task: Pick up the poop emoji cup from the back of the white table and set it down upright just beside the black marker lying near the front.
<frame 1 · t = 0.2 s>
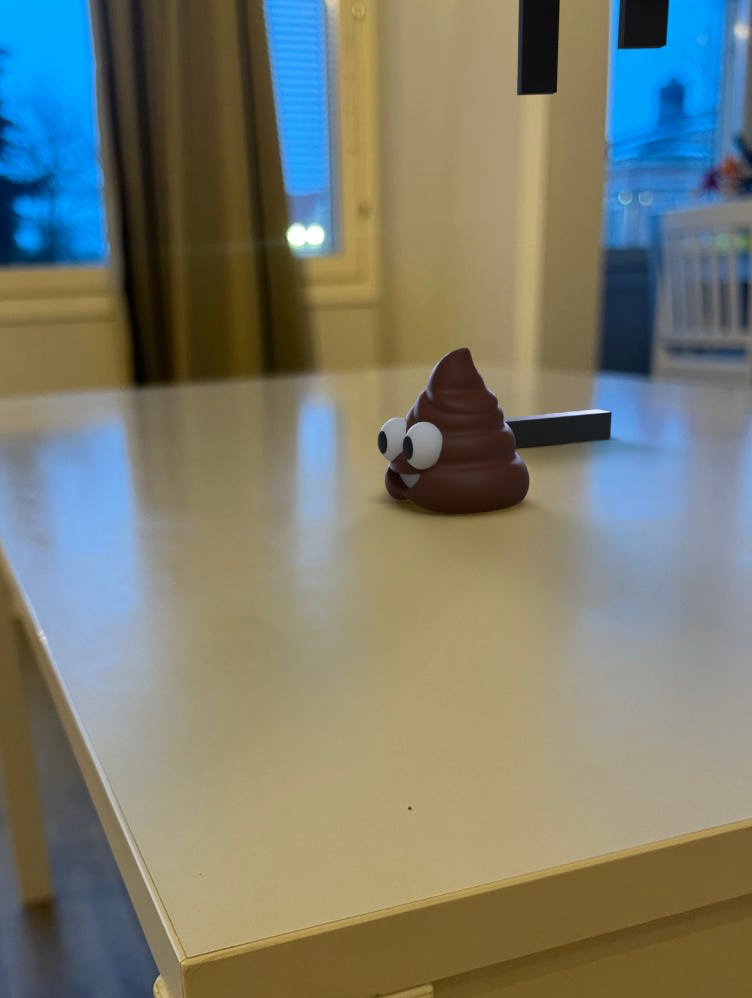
hand: (584, 73, 64), 25 cm above the table, tool pointing down, fingers open, 13 cm apart
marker: (531, 444, 82), on the table
poop emoji: (453, 504, 63), on the table
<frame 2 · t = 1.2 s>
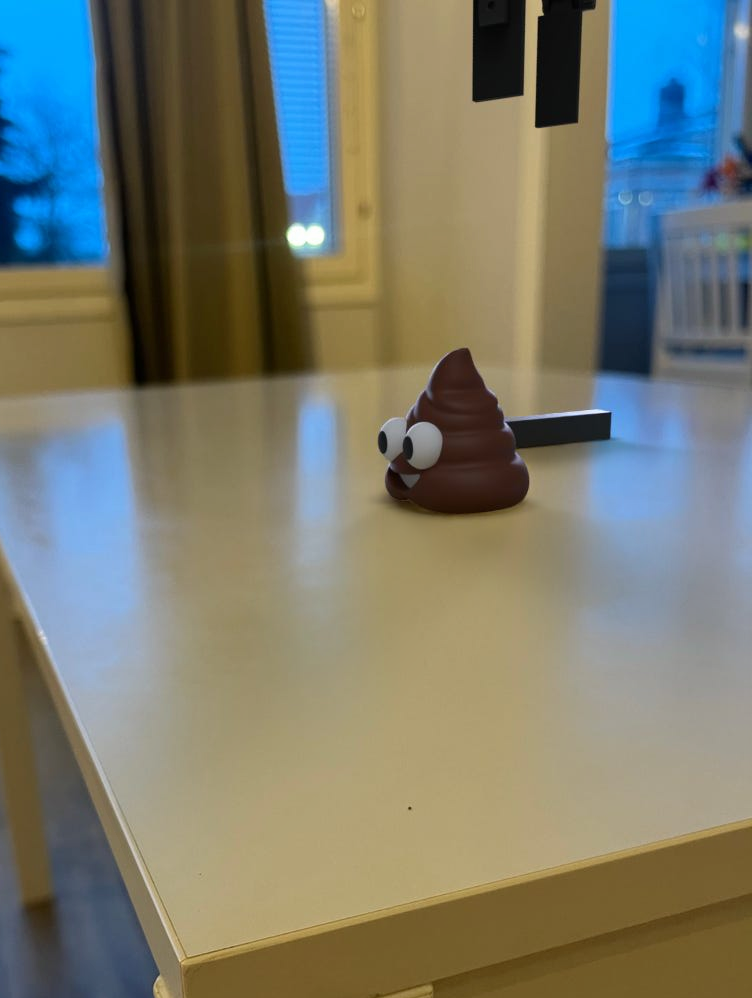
hand: (529, 113, 61), 23 cm above the table, tool pointing down, fingers open, 13 cm apart
nothing on the table moved.
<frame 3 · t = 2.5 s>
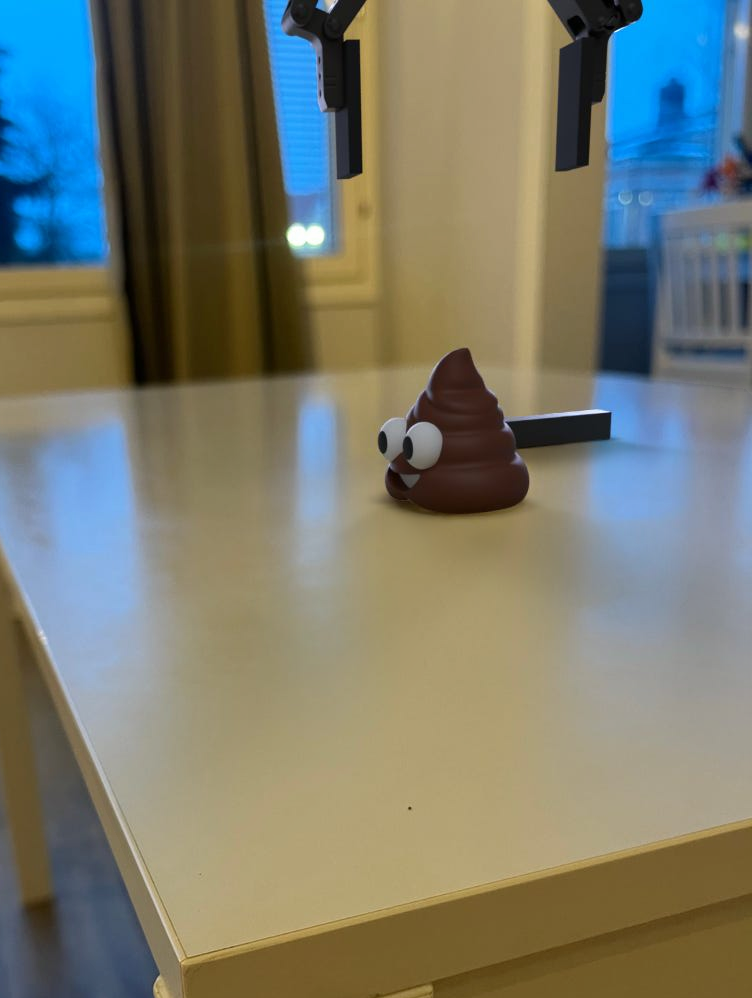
hand: (462, 173, 57), 19 cm above the table, tool pointing down, fingers open, 13 cm apart
nothing on the table moved.
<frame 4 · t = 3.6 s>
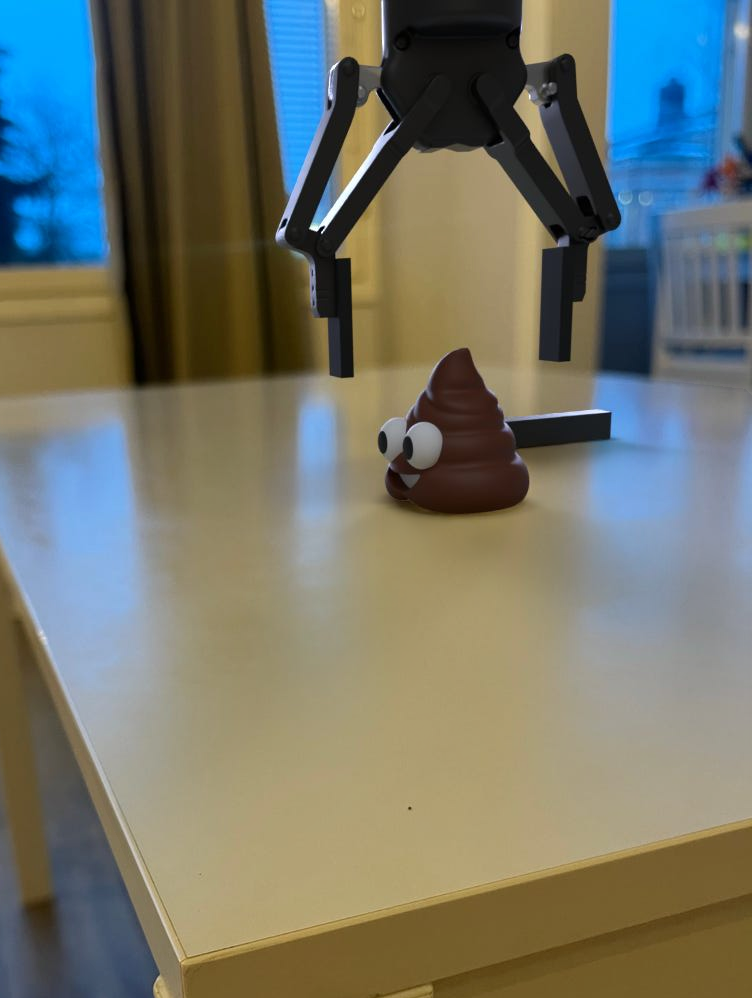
hand: (450, 369, 60), 8 cm above the table, tool pointing down, fingers open, 13 cm apart
nothing on the table moved.
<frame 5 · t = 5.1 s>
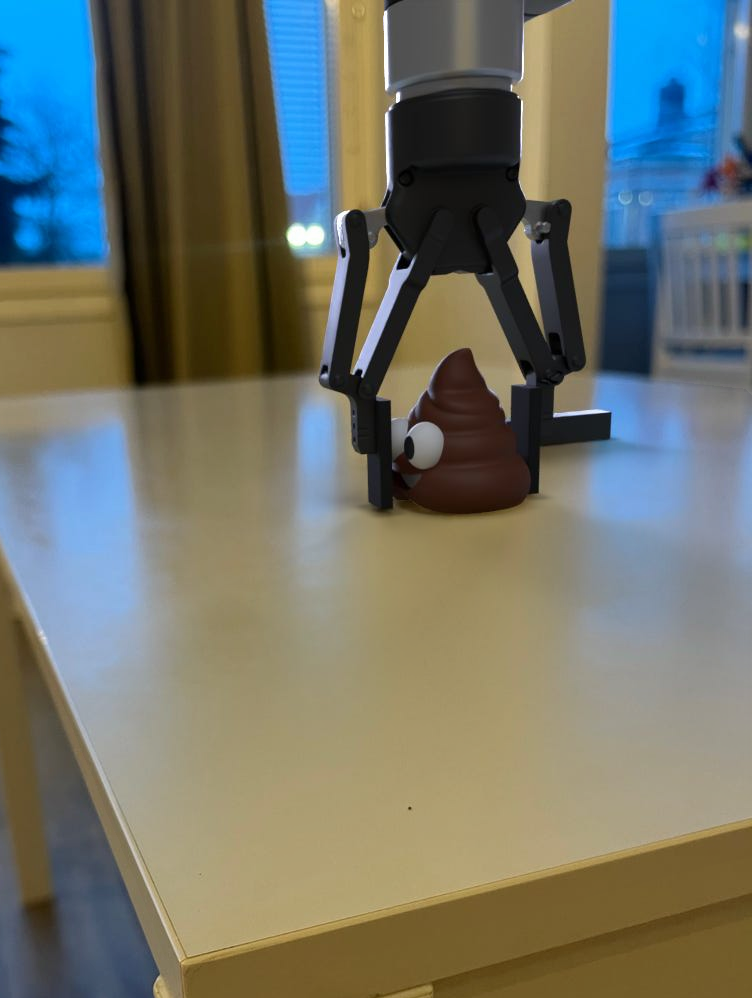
hand: (453, 497, 62), 0 cm above the table, tool pointing down, fingers closed on poop emoji, 9 cm apart
poop emoji: (454, 504, 63), on the table, touching gripper
everything else where it was.
when the fingers open (0 cm above the table, at t = 11.5 s): poop emoji stays where it is, on the table.
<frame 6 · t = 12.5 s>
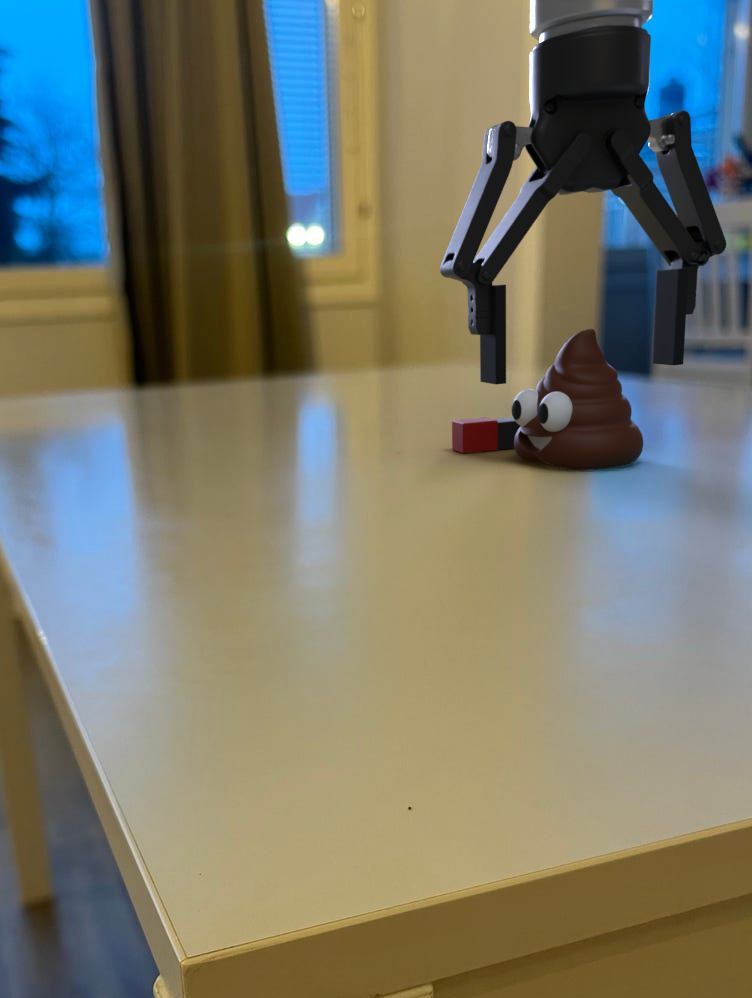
hand: (581, 373, 71), 6 cm above the table, tool pointing down, fingers open, 13 cm apart
poop emoji: (574, 463, 73), on the table
everything else where it was.
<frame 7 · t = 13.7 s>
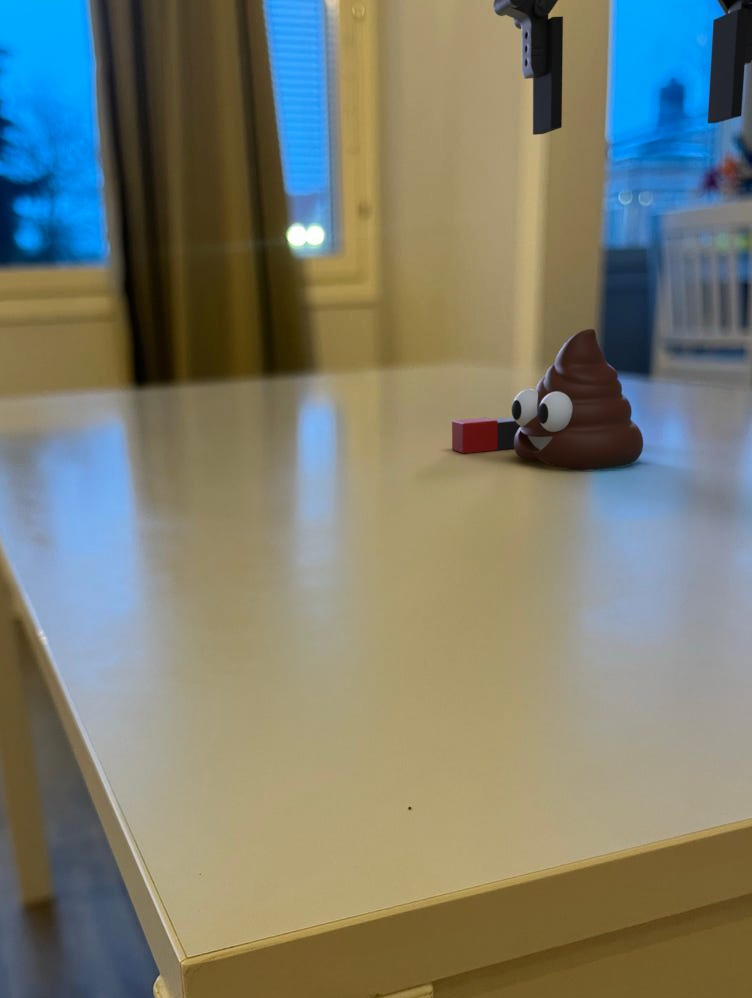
hand: (637, 126, 69), 22 cm above the table, tool pointing down, fingers open, 13 cm apart
nothing on the table moved.
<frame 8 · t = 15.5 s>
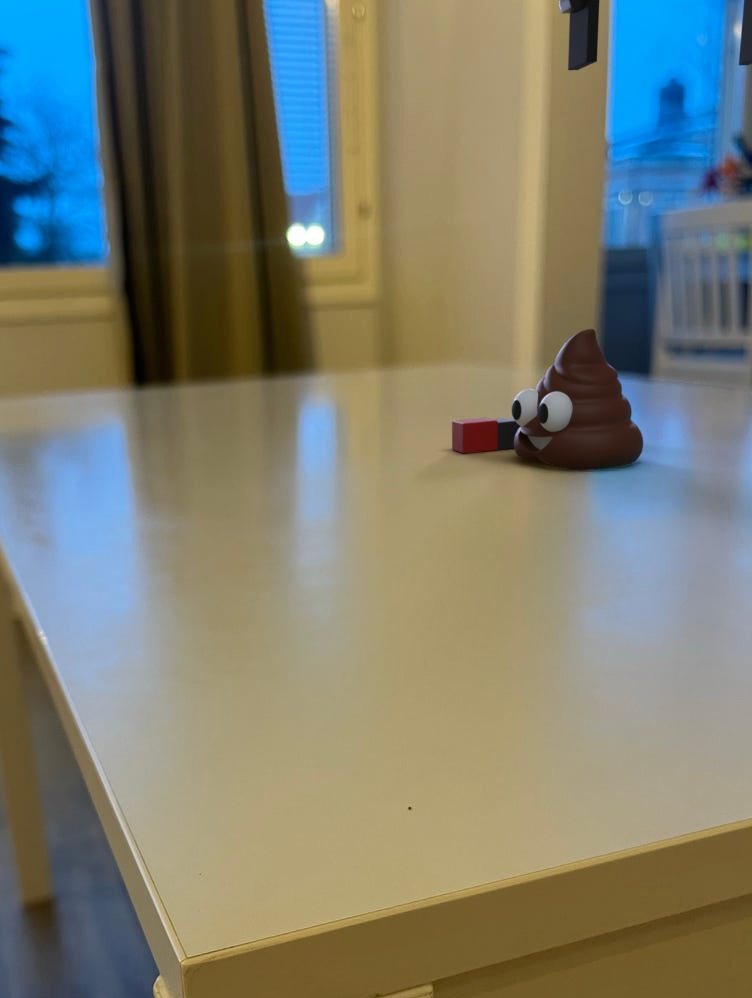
hand: (670, 64, 70), 27 cm above the table, tool pointing down, fingers open, 13 cm apart
nothing on the table moved.
at the end: poop emoji inside the target area on the table beside the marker (0.8 cm from its centre), on the table; poop emoji tilted 0°; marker moved 0.0 cm from its start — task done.
